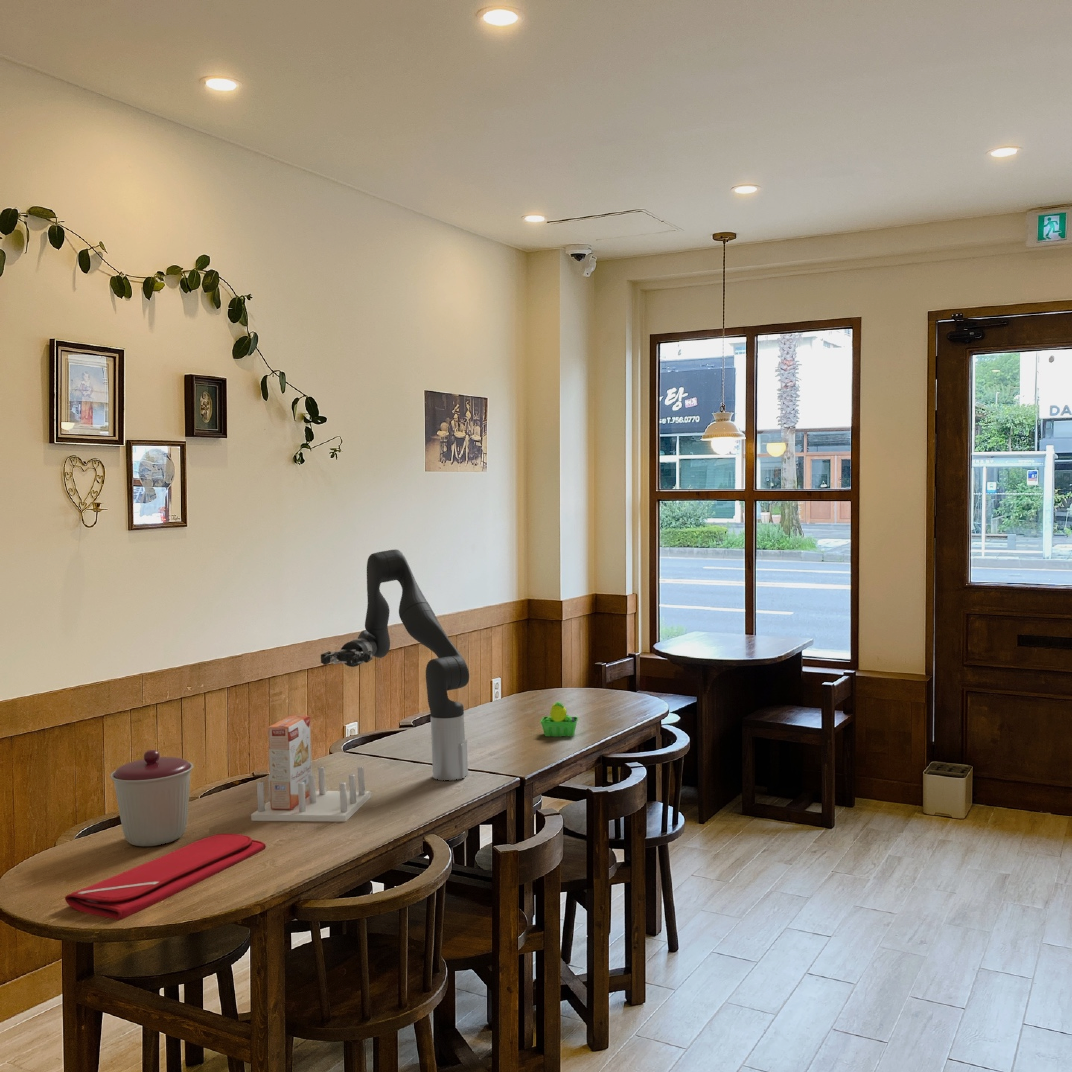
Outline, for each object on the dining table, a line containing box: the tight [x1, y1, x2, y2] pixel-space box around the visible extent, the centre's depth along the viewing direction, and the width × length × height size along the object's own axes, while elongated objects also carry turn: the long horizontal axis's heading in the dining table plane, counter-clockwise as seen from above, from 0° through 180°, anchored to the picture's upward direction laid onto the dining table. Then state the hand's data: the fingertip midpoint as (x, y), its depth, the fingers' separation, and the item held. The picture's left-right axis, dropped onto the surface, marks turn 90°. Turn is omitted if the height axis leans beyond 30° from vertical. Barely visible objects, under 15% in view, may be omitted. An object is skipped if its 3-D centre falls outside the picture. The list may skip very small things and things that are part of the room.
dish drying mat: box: [64, 833, 267, 921], centre depth 212 cm, size 16×41×4 cm, turn 155°
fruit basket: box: [540, 701, 579, 738], centre depth 324 cm, size 11×9×11 cm
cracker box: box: [267, 714, 313, 810], centre depth 256 cm, size 14×6×21 cm, turn 171°
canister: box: [109, 749, 194, 847], centre depth 236 cm, size 18×18×21 cm
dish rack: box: [250, 766, 372, 823], centre depth 255 cm, size 24×20×8 cm
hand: (338, 661), depth 287 cm, fingers open, 8 cm apart
